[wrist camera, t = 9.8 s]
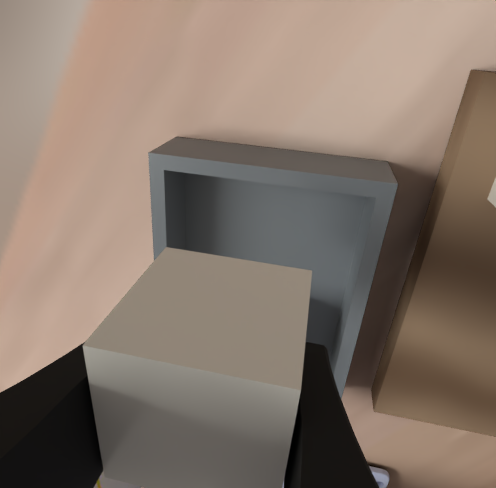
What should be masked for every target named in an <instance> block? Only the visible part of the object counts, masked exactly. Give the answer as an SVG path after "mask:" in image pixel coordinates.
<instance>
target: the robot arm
mask: <svg viewBox="0 0 496 488" xmlns="http://www.w3.org/2000/svg"><path fill="white" fill-rule="evenodd" d="M84 343H85V342H84ZM84 343H83V344H84ZM83 344H81V345H80V346H78V347H76V348H75V349H73V350H72V351H70V352H69V353H67V354H66V355H64V356H63V357H61V358H59V359H58V360H56V361H54V362H53V363H51V364H49V365H48V366H46V367H44V368H43V369H41V370H39V371H38V372H36V373H35V374H33V375H31V376H30V377H28V378H26V379H24V380H23V381H21V382H19V383H17V384H16V385H14V386H12V387H10V388H8V389H6V390H5V391H3V392H1V393H0V488H94V486H95V484H96V483H97V481H98V479H99V477H100V475H101V474H102V472H103V464H102V458H101V452H100V446H99V440H98V434H97V428H96V422H95V417H94V411H93V405H92V399H91V393H90V387H89V381H88V375H87V369H86V363H85V357H84V351H83ZM388 482H389V473H388V472H387V471H386V470H384V469H380V468H376V467H372V466H369V465H368V463H367V461H366V459H365V457H364V455H363V452H362V450H361V448H360V446H359V443H358V441H357V439H356V436H355V434H354V432H353V429H352V427H351V424H350V422H349V419H348V416H347V414H346V411H345V408H344V406H343V403H342V401H341V398H340V395H339V392H338V389H337V386H336V382H335V379H334V376H333V372H332V369H331V365H330V361H329V356H328V350H327V348H326V347H325V346H324V345H320V344H315V343H310V342H305V353H304V363H303V374H302V385H301V393H300V398H299V403H298V408H297V414H296V419H295V424H294V429H293V435H292V440H291V445H290V450H289V455H288V461H287V466H286V471H285V476H284V482H283V487H282V488H386V487H387V485H388Z"/></svg>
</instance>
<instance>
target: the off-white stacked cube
mask: <svg viewBox="0 0 496 488" xmlns="http://www.w3.org/2000/svg"><path fill="white" fill-rule="evenodd" d="M311 278H312V271H311V270H305V269H299V268H293V267H287V266H280V265H274V264H268V263H262V262H256V261H249V260H243V259H237V258H231V257H225V256H218V255H212V254H206V253H200V252H194V251H188V250H181V249H175V248H169V247H166V248H165V249H164V250H163V251H162V252H161V253H160V255H159V256H158V257H157V258H156V259H155V261H154V262H153V263H152V264H151V265H150V266H149V268H148V269H147V270H146V271H145V272H144V274H143V275H142V276H141V277H140V278H139V279H138V281H137V282H136V283H135V284H134V285H133V286H132V288H131V289H130V290H129V291H128V292H127V294H126V295H125V296H124V297H123V298H122V299H121V301H120V302H119V303H118V304H117V305H116V307H115V308H114V309H113V310H112V311H111V312H110V314H109V315H108V316H107V317H106V318H105V319H104V321H103V322H102V323H101V324H100V325H99V327H98V328H97V329H96V330H95V331H94V332H93V334H92V335H91V336H90V337H89V338H88V340H87V341H86V342H85V343H84V344H83V351H84V357H85V363H86V369H87V375H88V381H89V387H90V393H91V399H92V405H93V411H94V417H95V422H96V428H97V434H98V440H99V446H100V452H101V458H102V464H103V470H104V476H105V477H106V478H109V479H113V480H117V481H121V482H125V483H129V484H133V485H137V486H141V487H145V488H282V487H283V482H284V476H285V471H286V466H287V461H288V455H289V450H290V445H291V440H292V435H293V429H294V424H295V419H296V414H297V408H298V403H299V398H300V393H301V385H302V374H303V363H304V353H305V342H306V331H307V321H308V310H309V299H310V289H311Z"/></svg>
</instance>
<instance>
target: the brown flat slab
mask: <svg viewBox="0 0 496 488" xmlns="http://www.w3.org/2000/svg"><path fill="white" fill-rule="evenodd" d="M495 178H496V72H492V71H480V70H471V71H470V75H469V78H468V81H467V84H466V87H465V91H464V94H463V97H462V100H461V104H460V107H459V110H458V113H457V116H456V120H455V123H454V126H453V129H452V132H451V136H450V139H449V142H448V145H447V148H446V152H445V155H444V158H443V161H442V164H441V168H440V171H439V174H438V177H437V180H436V184H435V187H434V190H433V193H432V197H431V200H430V203H429V206H428V209H427V213H426V216H425V219H424V222H423V225H422V229H421V232H420V235H419V238H418V241H417V245H416V248H415V251H414V254H413V257H412V261H411V264H410V267H409V270H408V273H407V277H406V280H405V283H404V286H403V289H402V293H401V296H400V299H399V302H398V306H397V309H396V312H395V315H394V318H393V322H392V325H391V328H390V331H389V334H388V338H387V341H386V344H385V347H384V350H383V354H382V357H381V360H380V363H379V366H378V370H377V373H376V376H375V379H374V382H373V386H372V389H371V391H372V400H373V409H374V412H379V413H383V414H388V415H393V416H398V417H403V418H407V419H412V420H417V421H422V422H427V423H432V424H436V425H441V426H446V427H451V428H456V429H460V430H465V431H470V432H475V433H480V434H485V435H489V436H494V437H496V207H495V206H494V205H493V204H492V203H491V202H490V201H489V200H488V196H489V193H490V191H491V188H492V186H493V183H494V180H495Z"/></svg>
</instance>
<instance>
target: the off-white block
mask: <svg viewBox="0 0 496 488" xmlns="http://www.w3.org/2000/svg"><path fill="white" fill-rule="evenodd" d="M488 200H489V201H490V202H491V203H492V204H493V205H494V206H495V207H496V178H495V180H494V183H493V186H492V188H491V191H490V193H489V196H488Z"/></svg>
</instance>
